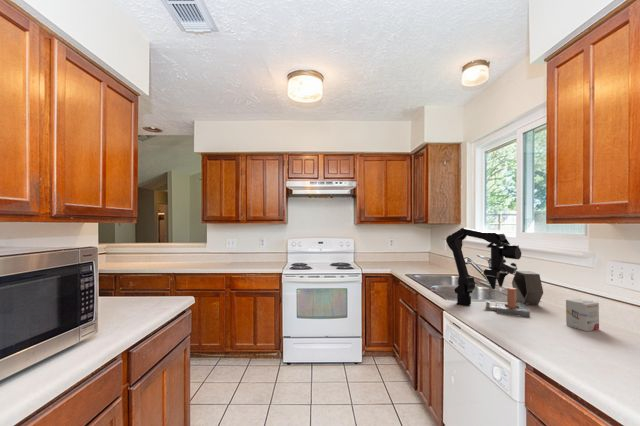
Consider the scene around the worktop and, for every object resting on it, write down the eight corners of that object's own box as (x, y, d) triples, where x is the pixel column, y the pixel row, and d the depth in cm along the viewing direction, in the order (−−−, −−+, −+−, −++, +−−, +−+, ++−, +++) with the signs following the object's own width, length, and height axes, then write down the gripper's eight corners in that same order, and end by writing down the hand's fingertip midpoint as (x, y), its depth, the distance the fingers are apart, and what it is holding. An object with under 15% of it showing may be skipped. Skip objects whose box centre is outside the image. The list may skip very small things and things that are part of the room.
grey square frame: (496, 312, 159) (496, 307, 159) (495, 306, 171) (495, 301, 171) (529, 317, 152) (529, 312, 152) (526, 309, 165) (526, 305, 165)
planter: (509, 288, 192) (518, 263, 181) (523, 289, 191) (532, 264, 180) (520, 310, 178) (530, 284, 167) (535, 311, 177) (546, 285, 166)
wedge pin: (507, 311, 161) (507, 288, 161) (510, 309, 164) (510, 287, 164) (513, 312, 159) (513, 289, 159) (516, 311, 162) (516, 288, 162)
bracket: (485, 309, 164) (485, 301, 164) (485, 308, 166) (485, 300, 166) (496, 310, 162) (496, 303, 162) (496, 309, 164) (496, 302, 164)
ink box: (578, 323, 144) (578, 297, 144) (599, 329, 136) (599, 302, 136) (565, 325, 142) (565, 299, 142) (586, 331, 134) (586, 304, 134)
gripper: (507, 260, 146) (507, 293, 146) (521, 257, 158) (521, 288, 158) (483, 257, 154) (483, 289, 154) (497, 255, 166) (497, 284, 166)
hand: (497, 287), depth 158 cm, fingers open, 9 cm apart
